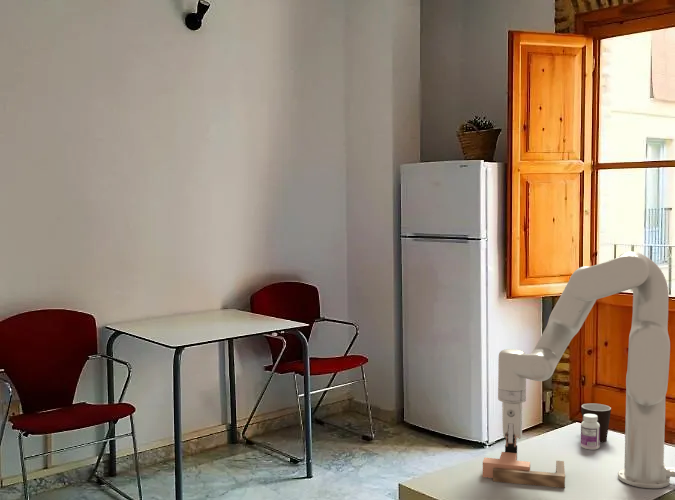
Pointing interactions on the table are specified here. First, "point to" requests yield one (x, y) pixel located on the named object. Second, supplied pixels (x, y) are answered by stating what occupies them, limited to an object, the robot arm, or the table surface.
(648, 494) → the table surface
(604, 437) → the coffee mug
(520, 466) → the t block
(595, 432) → the pill bottle
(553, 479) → the walnut fence
